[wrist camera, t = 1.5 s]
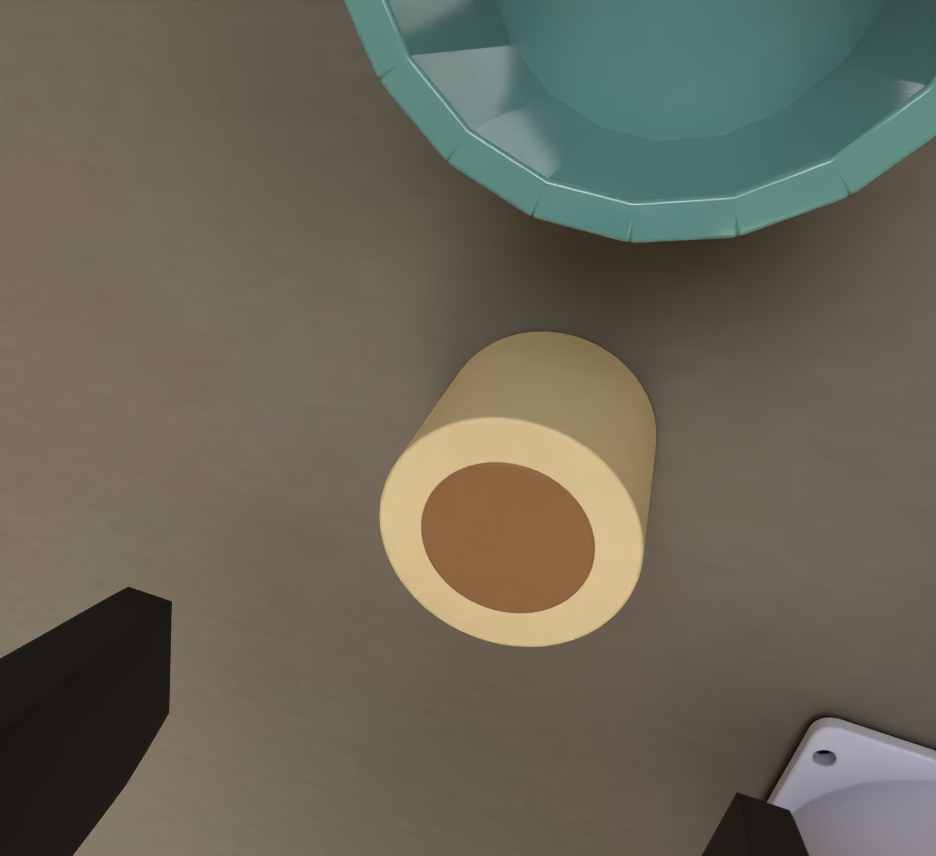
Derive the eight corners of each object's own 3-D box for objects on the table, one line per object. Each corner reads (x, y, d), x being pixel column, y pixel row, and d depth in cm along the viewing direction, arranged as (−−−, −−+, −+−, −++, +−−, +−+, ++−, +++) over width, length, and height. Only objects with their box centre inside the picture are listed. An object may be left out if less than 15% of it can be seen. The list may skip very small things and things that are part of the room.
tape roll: (621, 548, 19) (600, 682, 15) (429, 488, 20) (361, 601, 16) (686, 366, 17) (681, 468, 13) (467, 304, 18) (399, 384, 14)
